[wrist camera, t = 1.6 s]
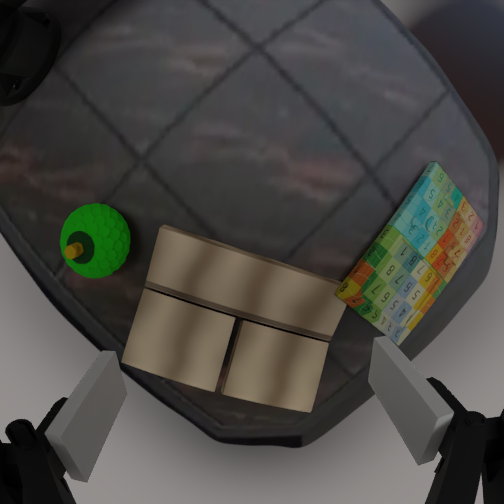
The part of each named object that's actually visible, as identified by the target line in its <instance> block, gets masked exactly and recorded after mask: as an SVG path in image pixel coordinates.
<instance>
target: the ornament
mask: <svg viewBox="0 0 504 504" xmlns="http://www.w3.org/2000/svg"><path fill="white" fill-rule="evenodd" d="M130 243H131V241H130V231H129V228H128V224H127V223H126V221H125V220H124V219H123V217H122V215H121V214H119V213H118V212H117V211H116V210H115V209H113V208H110V207H109V206H108V205H105V204H99V203H94V204H90V205H89V204H87V205H84V206H82V207H79V208H78V209H76V210H75V211H74V212H72V213H71V214H70V216H69V217H68V218H67V219H66V221H65V223H64V226H63V228H62V230H61V239H60V246H61V252H62V255H63V257H64V258H65V260H66V263H67V264H68V266H69V267H71V268H72V269H73V270H74V271H75V272H76V273H78V274H80V275H82V276H84V277H89V278H94V279H95V278H102V277H104V276H109V275H111V274H112V273H113V271H116V270H117V269H119V268H120V266H121V265H122V264H123V263H124V262H125V261H126V256H127V255H128V253H129V251H130V250H129V247H130Z"/></svg>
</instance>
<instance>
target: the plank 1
mask: <svg viewBox="0 0 504 504" xmlns="http://www.w3.org/2000/svg"><path fill="white" fill-rule="evenodd" d="M234 321H235V317H231V316H228V315H225V314H221V313H218V312H215V311H212V310H209V309H205V308H202V307H199V306H196V305H193V304H190V303H187V302H184V301H181V300H178V299H175V298H172V297H169V296H166V295H163V294H160V293H157V292H154V291H151V290H148V289H145V288H144V291H143V294H142V297H141V300H140V303H139V306H138V309H137V312H136V315H135V318H134V321H133V324H132V328H131V331H130V334H129V338H128V341H127V344H126V348H125V351H124V355H123V358H122V363H125V364H128V365H130V366H133V367H136V368H139V369H142V370H144V371H147V372H150V373H153V374H156V375H159V376H162V377H165V378H168V379H171V380H175V381H178V382H181V383H184V384H188V385H191V386H194V387H198V388H201V389H205V390H209V391H212V392H214V391H215V388H216V384H217V381H218V377H219V374H220V370H221V367H222V363H223V360H224V356H225V353H226V349H227V346H228V342H229V339H230V335H231V332H232V328H233V325H234Z"/></svg>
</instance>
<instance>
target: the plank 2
mask: <svg viewBox="0 0 504 504" xmlns="http://www.w3.org/2000/svg"><path fill="white" fill-rule="evenodd" d="M328 345H329V343H326V342H322V341H318V340H314V339H310V338H306V337H302V336H299V335H295V334H291V333H287V332H284V331H280V330H276V329H273V328H269V327H266V326H262V325H259V324H255V323H252V322H248V321H245V320H243V321H240V325H239V329H238V332H237V336H236V339H235V343H234V346H233V350H232V353H231V357H230V360H229V364H228V368H227V371H226V375H225V378H224V382H223V385H222V389H221V392H222V394H224V395H228V396H232V397H236V398H240V399H244V400H248V401H253V402H257V403H262V404H266V405H271V406H276V407H281V408H287V409H292V410H298V411H304V412H310V413H311V411H312V407H313V404H314V400H315V396H316V393H317V389H318V385H319V381H320V377H321V374H322V370H323V366H324V362H325V357H326V353H327V349H328Z"/></svg>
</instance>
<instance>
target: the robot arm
mask: <svg viewBox="0 0 504 504" xmlns="http://www.w3.org/2000/svg"><path fill="white" fill-rule="evenodd" d="M26 1H27V0H0V105H11V104H14V103H16V102H18V101H20V100H22V99H23V98H25V97H26V96H27V95H29V94H30V93H31V92H32V91H33V90H34V89H35V88H36V87H37V86H38V85H39V84H40V82H41V81H42V80H43V78H44V77H45V76H46V74H47V73H48V71H49V69H50V68H51V66H52V64H53V62H54V60H55V57H56V55H57V52H58V49H59V45H60V38H61V32H60V26H59V23H58V22H57V20H56V19H55V18H54V17H53V16H52V15H50V14H49V13H48V12H46V11H44V10H42V9H37V8H30V7H23V6H21V5H22V4H23V3H25V2H26ZM368 382H369V384H370V385H371V387H372V389H373V390H374V392H375V394H376V395H377V397H378V399H379V400H380V402H381V403H382V405H383V407H384V408H385V410H386V412H387V413H388V415H389V417H390V419H391V420H392V422H393V424H394V425H395V427H396V428H397V430H398V432H399V433H400V435H401V437H402V439H403V440H404V442H405V444H406V446H407V447H408V449H409V451H410V452H411V454H412V456H413V458H414V459H415V461H416V463H417V464H418V465H421V464H424V463H427V462H430V461H432V460H434V458H435V456H436V454H437V452H438V451H439V452H440V454H441V456H442V458H441V460H440V462H439V464H438V466H437V468H436V470H435V471H434V472H435V473H436V474H435V477H434V480H433V483H432V486H431V489H430V491H429V494H428V497H427V499H426V502H425V504H474V503H475V499H476V495H477V490H478V485H479V481H480V475H482V486H483V500H484V504H504V409H503V411H502V413H501V415H500V417H493V418H486V417H485V416H484V415H483V414H481V413H479V412H476V411H467V410H466V409H465V408H464V407H463V406H462V404H461V403H460V402H459V401H458V400H457V399H456V398H455V397H454V395H452V393H451V392H450V391H449V390H447V388H446V387H445V386H444V385H443V384H442V382H440V381H438V380H437V379H435V378H433V377H431V378H427V379H425V378H424V376H423V375H422V374H421V373H420V372H419V371H418V370H417V368H416V367H415V366H414V365H413V364H412V363H411V362H410V361H409V359H408V358H407V357H406V356H405V355H404V354H403V353H402V352H401V350H400V349H399V348H398V347H397V346H396V345H395V344H394V343H393V342H392V340H391V339H390V338H389V337H388V336H382V337H376V338H374V342H373V350H372V357H371V364H370V371H369V377H368ZM126 395H127V391H126V388H125V385H124V381H123V378H122V374H121V370H120V367H119V363H118V359H117V355H116V351H102V352H101V354H100V355H99V356H98V358H97V359H96V361H95V362H94V363H93V364H92V366H91V367H90V369H89V370H88V371H87V373H86V374H85V375H84V377H83V378H82V380H81V381H80V383H79V384H78V385H77V387H76V388H75V389H74V391H73V392H72V394H71V395H70V397H69V398H65V397H63V398H61V399H60V400H59V401H57V402H56V403H55V404H54V405H53V406H52V408H51V410H50V411H49V412H48V414H47V415H46V417H45V418H44V419H43V420H42V422H41V423H40V425H39V426H38V428H37V429H36V430H35V429H34V427H33V425H32V423H31V422H30V421H28V420H25V419H18V420H15V421H13V422H11V423H10V424H8V426H7V427H6V430H5V433H6V435H7V437H8V439H9V440H10V442H11V443H2V442H1V440H0V504H76V502H75V500H74V498H73V496H72V493H71V491H70V489H69V487H68V484H67V482H66V480H65V479H64V477H63V476H64V474H65V472H66V471H67V472H68V474H69V475H70V477H71V479H74V480H78V481H82V482H88V479H89V477H90V475H91V472H92V470H93V468H94V465H95V463H96V461H97V458H98V456H99V454H100V452H101V450H102V447H103V445H104V443H105V441H106V438H107V436H108V434H109V432H110V430H111V427H112V425H113V423H114V421H115V419H116V417H117V414H118V412H119V410H120V408H121V406H122V404H123V402H124V400H125V397H126Z"/></svg>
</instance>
